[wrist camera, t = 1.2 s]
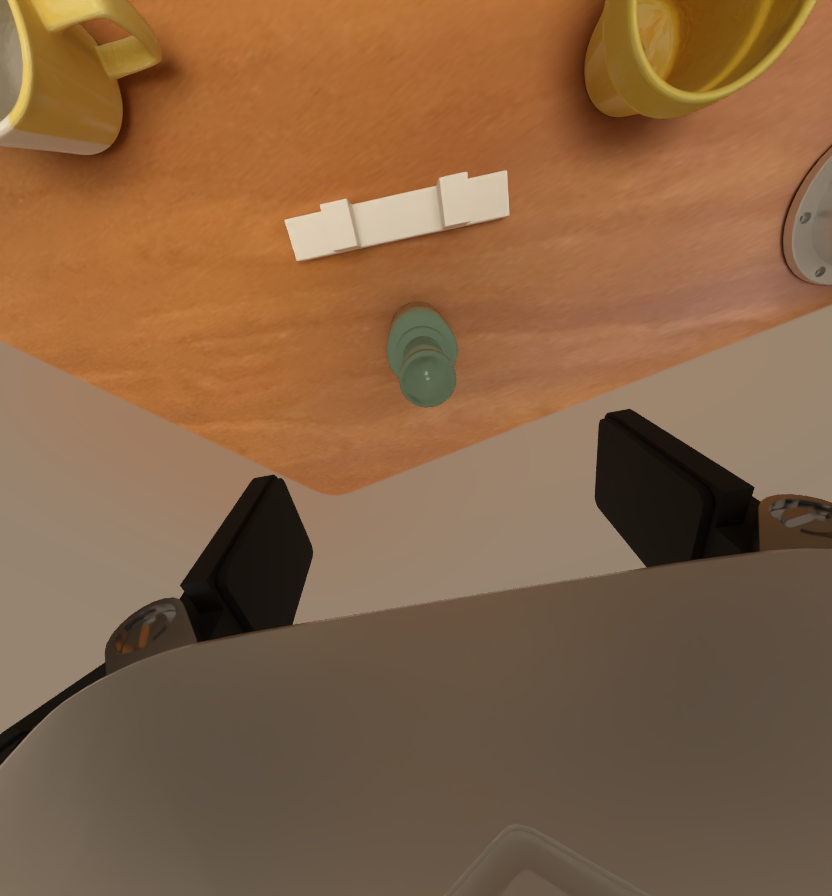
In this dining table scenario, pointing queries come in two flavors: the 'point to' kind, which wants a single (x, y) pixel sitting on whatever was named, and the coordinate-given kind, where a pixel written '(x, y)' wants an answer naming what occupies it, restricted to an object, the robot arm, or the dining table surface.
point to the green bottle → (422, 354)
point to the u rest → (399, 215)
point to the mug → (67, 73)
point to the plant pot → (684, 52)
